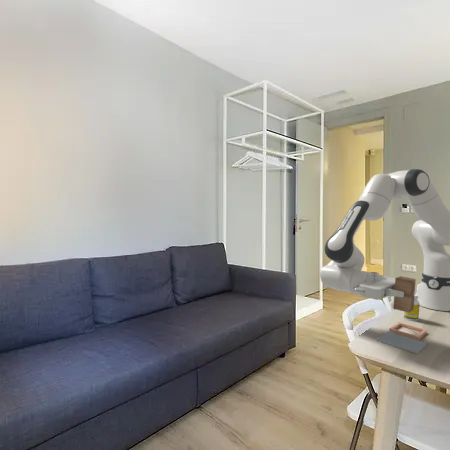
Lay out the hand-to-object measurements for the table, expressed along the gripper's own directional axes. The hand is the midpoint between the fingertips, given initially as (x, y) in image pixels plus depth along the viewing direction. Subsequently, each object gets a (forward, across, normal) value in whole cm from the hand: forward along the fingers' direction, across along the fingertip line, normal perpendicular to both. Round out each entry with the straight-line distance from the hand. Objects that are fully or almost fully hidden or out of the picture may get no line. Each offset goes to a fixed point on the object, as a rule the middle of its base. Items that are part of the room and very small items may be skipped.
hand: (407, 293), depth 99 cm
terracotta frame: (-2, +11, +17) cm, 20 cm away
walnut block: (-1, 0, +6) cm, 6 cm away
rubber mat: (-1, 0, +17) cm, 17 cm away
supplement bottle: (-6, +27, +17) cm, 32 cm away
